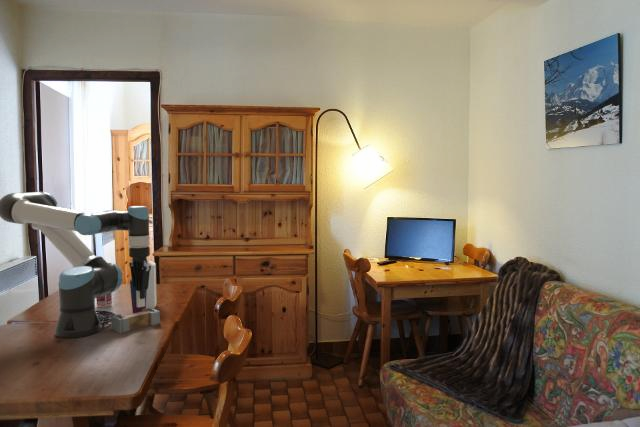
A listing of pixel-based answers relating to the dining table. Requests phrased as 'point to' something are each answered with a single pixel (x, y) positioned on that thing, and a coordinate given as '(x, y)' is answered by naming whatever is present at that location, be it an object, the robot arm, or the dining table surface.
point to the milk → (151, 285)
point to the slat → (138, 319)
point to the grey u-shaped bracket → (119, 323)
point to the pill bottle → (104, 300)
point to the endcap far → (153, 316)
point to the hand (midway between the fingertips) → (140, 306)
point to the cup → (133, 298)
